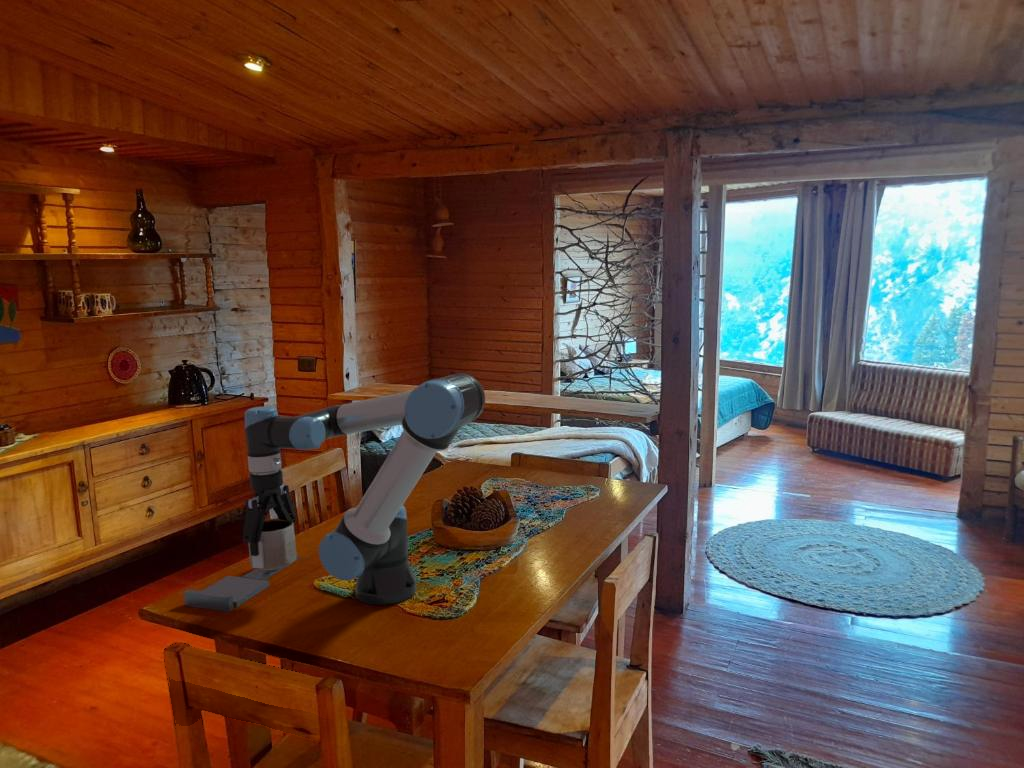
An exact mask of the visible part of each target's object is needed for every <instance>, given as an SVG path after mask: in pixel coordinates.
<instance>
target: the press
mask: <svg viewBox="0 0 1024 768" xmlns="http://www.w3.org/2000/svg"><path fill="white" fill-rule="evenodd" d="M299 559H301V557H300V555H297V556H296V560H295V561H294V562H293V563H295V562H296V561H298V560H299ZM293 563H291V564H290V565H292V564H293ZM287 567H288V566H286V567H283V568H279V569H274V570H258V569H255V568H254V569H253V570H251V571H250V572H247V573H246V574H244V575H242V576H241V577H239V576H233V575H226V576H224V578H222V579H220V580H218V581H216V582H215V583H212V584H211V585H209V586H207V587H206V588H205V589H203V590H194V589H189V588H188V589H186V590H185V591H183V594H184V595H183V597H184V605H185V606H186V607H187V606H188V607H193V608H198V609H199V608H200V609H207V610H215V611H221V612H228V613H230V612H232V611H233V610H234V607H235V608H237V607H240V606H241V605H242V604H244V603H245V602H247V601H249V600H250V599H251V598H254V597H255V596H256V595H258V594H259V593H261V592H262V591H264V590H265V589H267V588H269V587H270V585H271V584H270V581H269V580H268V579H269V578H270V579H271V577H273V576H275V575H276V574H277V573H279V572H280V571H282V570H284V569H285V568H287Z"/></svg>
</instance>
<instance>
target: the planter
mask: <svg viewBox="0 0 1024 768" xmlns="http://www.w3.org/2000/svg"><path fill="white" fill-rule="evenodd" d="M295 537H296V535H295V524H294V525H293V521H292V520H289V519H282V518H279V517H278V518H269V519H265V521H264V525H263V529H262V532H261V536H260V540H259V541H262V546H263V557H264V568H254V569H258V570H274V569H279V568H283V567H285V568H287V567H288V566H290V565H292V564H293V563H295V562H296V561H297V560H296V556H298V555H297V547H296V538H295ZM247 543H248V552H249V553H248V554H249V564H250V566H251V567H252V568H253V564H252V556H251V551H250V543H249V542H247ZM295 560H296V561H295ZM294 561H295V562H294ZM291 563H292V564H291ZM286 566H287V567H286Z"/></svg>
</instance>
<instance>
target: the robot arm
mask: <svg viewBox="0 0 1024 768" xmlns="http://www.w3.org/2000/svg"><path fill="white" fill-rule="evenodd" d="M485 393H486V392H485V390H484V388H483V386H482V384H481V382H480V381H478V380H477V379H476V378H475V377H474V376H471V375H470V374H465V373H462V372H461V373H451V374H449V375H446V376H441V377H440V378H439V377H438V378H433V379H429V380H426V381H424V382H423V383H421V384H419V385H418V386H416V387H415V388H413V390H409V391H404V392H399V393H394V394H390V395H385V396H384V395H383V396H377V397H374V398H368V399H364V400H358V401H354V402H350V403H345V404H344V403H343V404H340V405H330V406H327V407H325V408H322V409H318V410H315V411H312V412H309V413H304V414H301V415H298V416H279V413H278V410H277V407H274V406H270V405H269V406H268V405H267V406H256V407H251V408H249V409H247V410H246V411H245V412H244V432H245V439H246V440H245V441H246V449H247V465H248V471H249V472H250V474H249V483H250V485H249V486H250V489H252V490H253V491H254V495H253V497H252V498H251V499H249V498H247V499H245V517H244V525H243V531H242V539H241V540H242V542H243V543H248V542H249V543H250V551H251V556H252V564H253V567H252V568H254V569H255V568H264V557H263V546H262V541H259V540H260V536H261V532H262V529H263V525H264V521H265V520H266V517H267V515H269V512H270V510H272V509H273V511H274V512H275V515H276V516H277V517H278V518H282V519H289V520H292V521H293V525H294V526H295V524H296V519H297V513H296V510H295V507H294V504H293V501H292V498H291V494H290V488H289V485H288V484H284V477H283V471H282V470H281V469H282V458H281V456H282V455H281V449H289V450H300V451H307V450H317V449H319V448H320V447H321V445H322V444H323V443H324V441H326V440H329V439H332V438H336V437H337V438H338V437H342V436H343V437H344V436H346V435H351V434H356V433H357V434H358V433H362V432H367V431H374V430H380V429H385V428H390V427H396V426H402V432H401V434H400V436H399V438H397V439H398V440H397V441H396V443H395V444H394V445H393V448H392V449H391V451H390V452H389V454H388V456H387V457H386V459H385V461H384V462H383V463H382V465H381V467H380V468H379V470H378V472H377V474H376V475H375V476H374V478H373V480H372V482H371V484H370V485H369V487H368V488H367V490H366V492H365V493H364V495H363V496H362V498H361V499H360V501H359V503H358V504H357V506H356V507H352V508H349V509H348V510H346V511H345V513H344V515H343V516H342V517H341V520H340V521H339V523H338V525H337V526H336V528H335V529H334V530H333V531H331V532H328V533H327V534H325V536H324V537H322V539H320V540H321V541H320V543H319V546H318V556H319V559H320V562H321V565H322V566H323V568H324V569H325V571H326V572H327V573H328V574H330V576H332V577H334V578H335V579H337V580H340V581H351V580H355V579H356V578H357V579H356V584H355V587H354V588H355V597H356V599H357V600H358V601H359V602H362V603H363V604H368V605H376V606H378V605H379V606H380V605H381V606H382V605H383V606H385V605H393V604H397V603H400V602H404V601H406V600H408V599H411V598H412V597H413V596H414V595H415V594H416V592H417V582H416V578H415V574H414V573H413V569H412V567H411V564H410V562H409V545H408V544H409V543H408V542H409V541H408V517H407V510H406V506H404V504H405V502H406V501H407V499H408V497H409V496H410V495H411V493H412V491H413V490H414V488H415V487H416V485H417V484H418V482H419V480H420V479H421V478H422V476H423V474H424V472H425V471H426V470H427V468H428V466H429V464H430V463H431V462H432V460H433V458H434V457H435V455H436V454H437V452H441V451H445V450H447V449H448V448H449V446H450V445H451V443H452V442H453V441H454V439H455V437H456V435H457V434H458V432H459V431H460V430H461V428H462V427H464V426H466V425H468V424H470V423H472V422H474V421H476V420H477V418H479V417H480V415H481V414H482V413H483V411H484V408H485V404H486V394H485ZM249 543H248V544H249ZM411 596H412V597H411Z"/></svg>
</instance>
